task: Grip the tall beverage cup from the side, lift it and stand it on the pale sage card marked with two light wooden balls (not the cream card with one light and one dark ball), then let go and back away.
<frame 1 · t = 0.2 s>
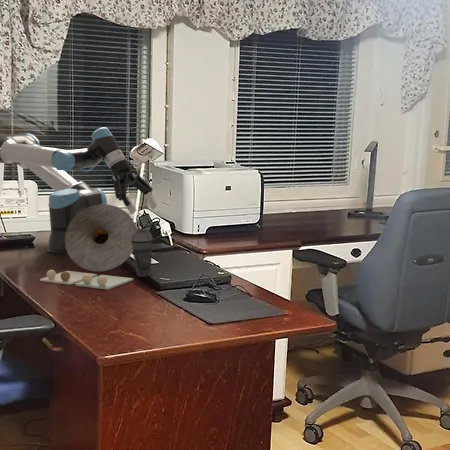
hand: (144, 210, 284), 15 cm above the table, tool tilted 35°, fingers open, 13 cm apart
cream card: (68, 278, 243), on the table
sage card: (104, 282, 235), on the table
disc: (105, 265, 262), on the table
beverage cup: (143, 275, 245), on the table
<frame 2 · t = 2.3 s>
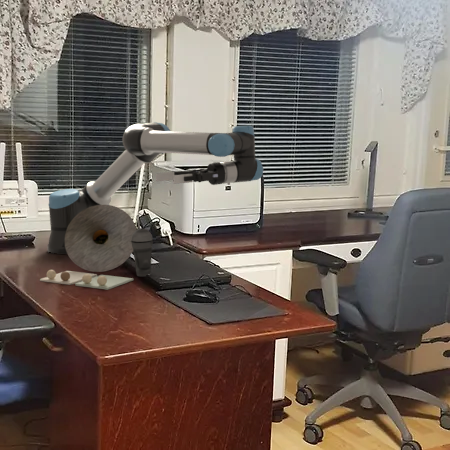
hand: (164, 178, 245), 31 cm above the table, tool horizontal, fingers open, 13 cm apart
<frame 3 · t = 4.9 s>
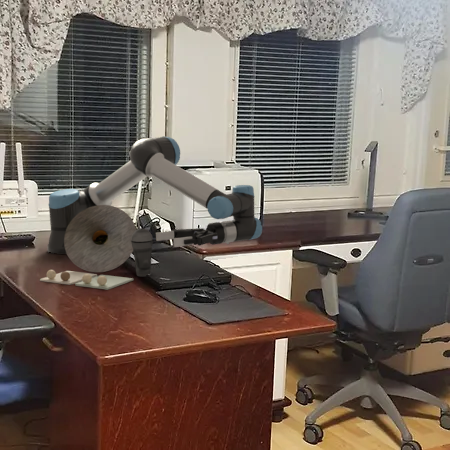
hand: (164, 239, 247), 11 cm above the table, tool horizontal, fingers open, 13 cm apart
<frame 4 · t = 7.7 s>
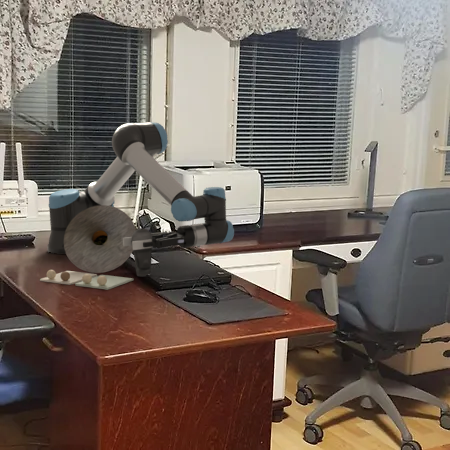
hand: (128, 243, 241), 11 cm above the table, tool horizontal, fingers closed on beverage cup, 7 cm apart
beverage cup: (143, 275, 245), on the table, touching gripper
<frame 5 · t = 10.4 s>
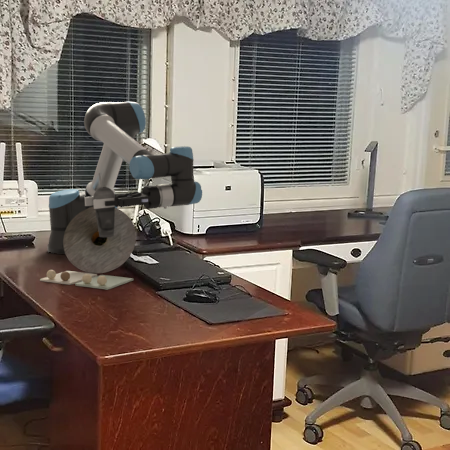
hand: (89, 203, 230), 26 cm above the table, tool horizontal, fingers closed on beverage cup, 7 cm apart
beverage cup: (106, 236, 235), point 15 cm above the table, touching gripper
when the fingers open (13 cm above the table, at t = 13.1 s): beverage cup drops 1 cm, resting on sage card.
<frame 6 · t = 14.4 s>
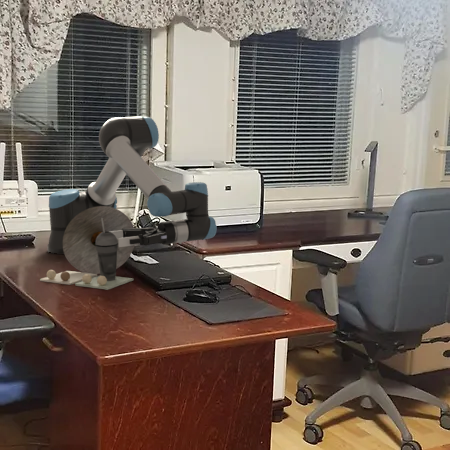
hand: (111, 239, 235), 13 cm above the table, tool horizontal, fingers open, 13 cm apart
disc: (103, 268, 257), on the table
beverage cup: (108, 279, 237), resting on sage card
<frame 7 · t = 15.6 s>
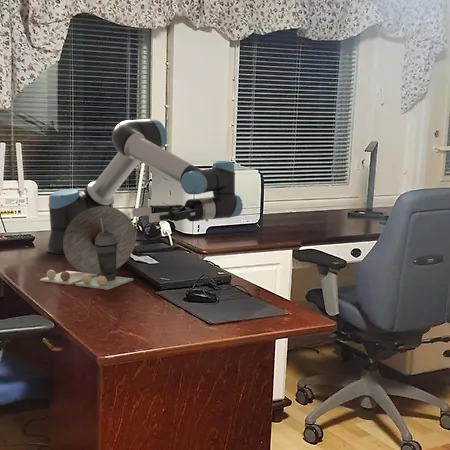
hand: (140, 215, 240), 20 cm above the table, tool horizontal, fingers open, 13 cm apart
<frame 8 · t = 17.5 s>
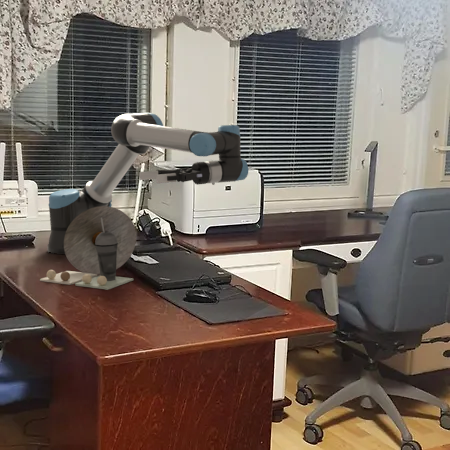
hand: (148, 177, 241), 32 cm above the table, tool horizontal, fingers open, 13 cm apart
at the end: beverage cup inside the target area on the sage card (0.1 cm from its centre), point 0.4 cm above the sage card's base; beverage cup tilted 0°; the gripper is holding nothing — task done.
